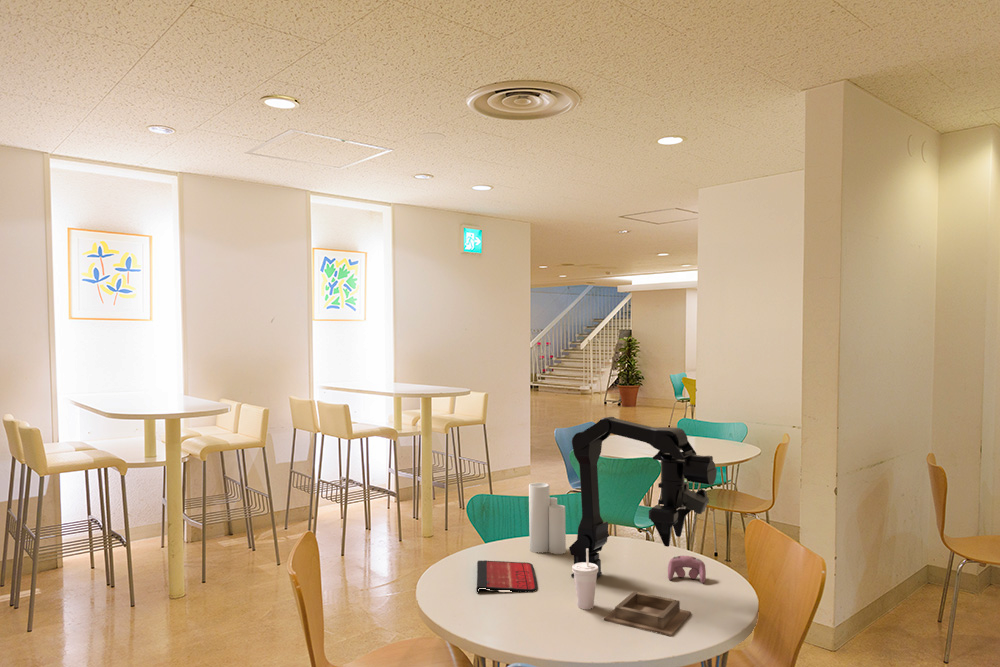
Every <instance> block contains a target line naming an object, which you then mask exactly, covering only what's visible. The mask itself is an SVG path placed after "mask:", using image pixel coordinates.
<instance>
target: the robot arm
mask: <svg viewBox="0 0 1000 667" xmlns="http://www.w3.org/2000/svg"><path fill="white" fill-rule="evenodd" d="M612 434H613V435H616V436H620V437H622V438H626V439H630V440H631V439H632V440H634V441H639V442H642V443H646V444H648V445H650V446H651V447H653V448H654V449H656V450H658V452H657V453H656V454H655V455H654V456H652V460H653V461H660V482H659V483H658V488H659V489H660V498H659V499H658V502H657V503H658V504H656V505H654V506H653V507H651V508H650V509H649V510H648V519H649V520H650V521H651V523H653V525H654V527H655V529H656V530H657V533H658V535H659V537H660V540H661V541H662V544H663V546H664V547H670V544H671V539H672V532H673V530H674V534H675V536H676V537H679V538H680V537H681V536H682V534H683V529H684V524H685V521H686V518H687V515H688V514H690V513H691V512H692V511H693V512H694V513H696V514H698V515H701V514H702V513H703V512H705V511H706V508H707V506H708V504H709V502H710V501H709V498H710V497H708V493H707V490H705V489H704V488H700V489H699V490H697V491H695V490H691V489H689V485H688V483H687V482H690V483H695V484H696V483H697V484H704V485H710V486H713V485H714V483H715V482H716V480H717V475H718V474H717V473H718V472H717V470H718V468H717V467H716V464H715V462H714V460H713V459H714V458H713V456H712V455H699V454H697V452H696V451H695V449H694V448H693V446H692V445H691V443H690V442H689V440H688V436H687V434H686V432H685V430H683V428H681V427H667V426H665V427H661V426H660V427H658V426H657V427H655V426H654V427H653V426H649V425H644V424H640V423H636V422H632V421H629V420H628V421H627V420H624V419H619V418H616V417H614V416H607V417H603V418H600V420H598V421H597V422H596V423H594V424H593V425H590V427H588V428H586V429H585V430H583V431H580V432H577V433H575V434H574V435H573V437H572V439H571V447H572V450H573V456H574V457H575V459H576V461H577V463H578V465H579V479H580V480H579V481H580V499H581V500H580V501H581V502H580V503H581V519H580V522H579V524H578V527H577V535H576V536H577V537H576V540H575V541H574V542H573V543H572V544H571V545H570V546H569V548H568V549H569V553H570V556H572V557H573V565H574V564H576V563H581V562H586V549H587V548H588V552H589V563H593V564H596V565H597V566H598V573H597V578H598V577H600V576H601V575H603V572H602V565H601V564H602V563H601V562H602V561H601V559H600V553H599V552H601V551H602V550H603V546H605V545H606V543H607V542H608V538H609V537H610V533H609V522H608V521H604V520H603V519H602V516H601V510H600V494H599V493H600V492H599V477H598V476H599V473H598V462H599V459H600V456H601V453H602V448H603V447H602V445H603V442H605V441H606V439H608V438H609V437H610V436H611V435H612ZM685 480H687V482H685ZM570 575H571V577H572V578H574V572H572V573H571V574H570Z"/></svg>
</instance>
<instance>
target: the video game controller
mask: <svg viewBox="0 0 1000 667" xmlns="http://www.w3.org/2000/svg"><path fill="white" fill-rule="evenodd" d="M684 568H689V571H688V576H689V578H691V579H693V580H696V579H697V578H698V576H699V580H700V583H701V584H702V583H703V584H705V582H706V575H707V573H706V570H707V569H706V564H705V563H704V561H702V560H701V559H700V558H697V557H695V556H689V555H678V556H674V557H672V558H670V559H669V562H668V565H667V578H668V580H669V581H672V580H673V578H674V576H675V574H676V575H677V577H678V578H680V577H683V578H684V577H686V571H685V569H684ZM695 578H696V579H695Z"/></svg>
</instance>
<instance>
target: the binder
mask: <svg viewBox="0 0 1000 667" xmlns="http://www.w3.org/2000/svg"><path fill="white" fill-rule="evenodd" d="M476 564H477V565H476V566H477V567H476V569H477V570H476V573H477V575H476V588H475V589H476V593H477V592H478V589H479V588H486V589H490V590H510V591H512V592H519V593H533V591H535V590H536V591H538V585H537V579H536V574H535V569H534V565H533V564H532V563H530V562H520V561H519V562H518V561H501V560H500V561H499V560H485V559H484V560H477V563H476ZM536 591H535V592H536Z"/></svg>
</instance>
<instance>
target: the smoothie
mask: <svg viewBox="0 0 1000 667" xmlns="http://www.w3.org/2000/svg"><path fill="white" fill-rule="evenodd" d="M571 567H572V569H571V571H572V573H574V577H573V578H574V585H575V592H576V600H577V606H578V608H579V609H581V608H582V609H581V610H592V609H593V608H594V607H595V606H594V605H595V596H596V586H597V579H598V577H597V573H598V566H597V565H596V564H593V563H589V552H588V548H587V549H586V562H581V563H576V564H574V563H573V564H572V566H571ZM591 608H592V609H591Z"/></svg>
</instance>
